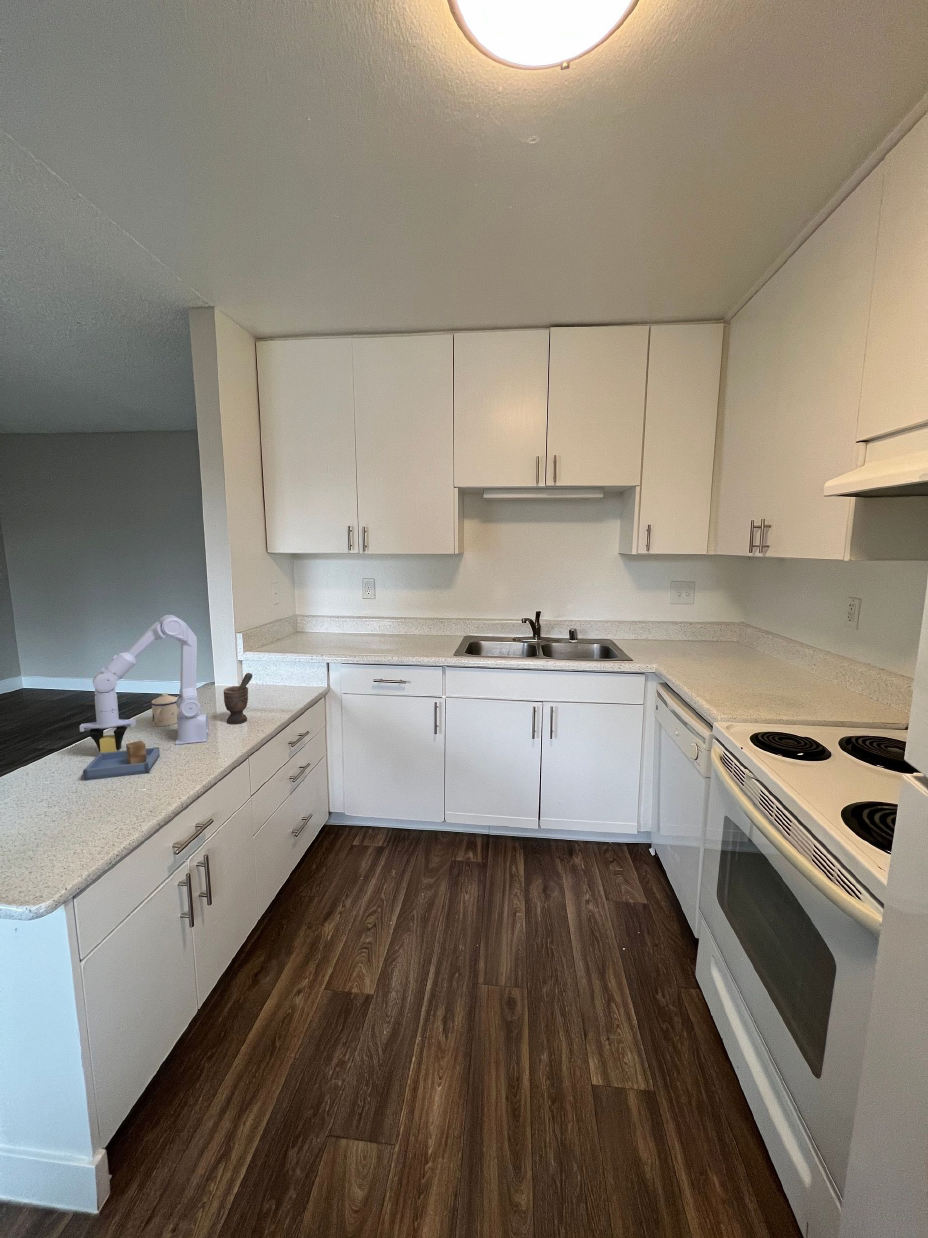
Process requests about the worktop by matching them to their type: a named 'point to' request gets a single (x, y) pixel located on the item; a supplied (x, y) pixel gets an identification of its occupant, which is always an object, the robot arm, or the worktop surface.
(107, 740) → the mustard block
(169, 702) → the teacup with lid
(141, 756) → the walnut block
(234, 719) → the mortar and pestle
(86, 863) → the worktop surface
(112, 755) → the slate blue tray
